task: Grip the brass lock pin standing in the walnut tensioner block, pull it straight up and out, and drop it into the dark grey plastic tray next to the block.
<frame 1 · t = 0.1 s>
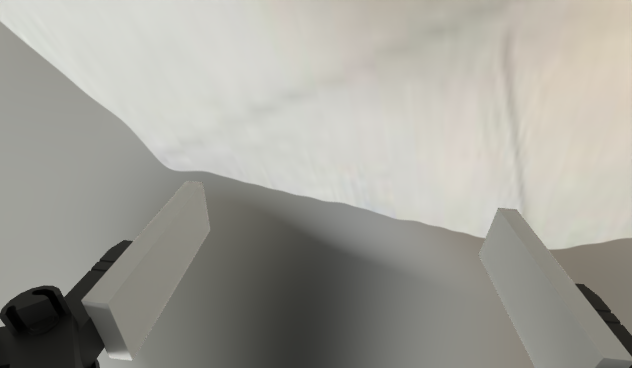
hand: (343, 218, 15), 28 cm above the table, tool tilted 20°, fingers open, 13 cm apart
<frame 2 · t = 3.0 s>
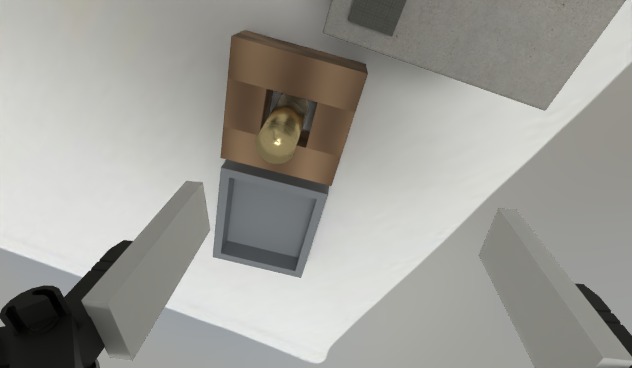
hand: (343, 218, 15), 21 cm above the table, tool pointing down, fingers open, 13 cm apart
lock pin: (293, 106, 34), resting in tensioner block
tensioner block: (293, 106, 34), on the table
tray: (271, 211, 41), on the table
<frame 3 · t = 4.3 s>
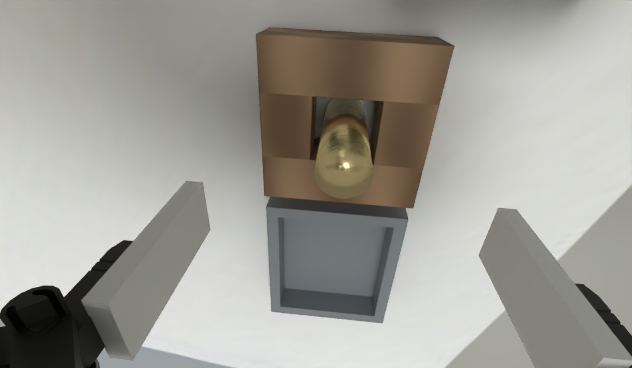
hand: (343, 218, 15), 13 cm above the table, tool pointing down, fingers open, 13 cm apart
lock pin: (345, 113, 26), resting in tensioner block
tensioner block: (345, 113, 26), on the table
tray: (332, 246, 33), on the table
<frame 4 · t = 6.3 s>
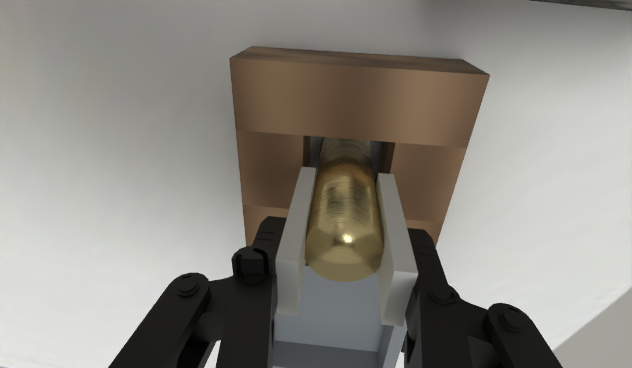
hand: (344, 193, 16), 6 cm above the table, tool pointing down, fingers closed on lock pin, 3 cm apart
lock pin: (345, 149, 21), resting in tensioner block, touching gripper
tensioner block: (345, 149, 21), on the table
tray: (330, 296, 29), on the table
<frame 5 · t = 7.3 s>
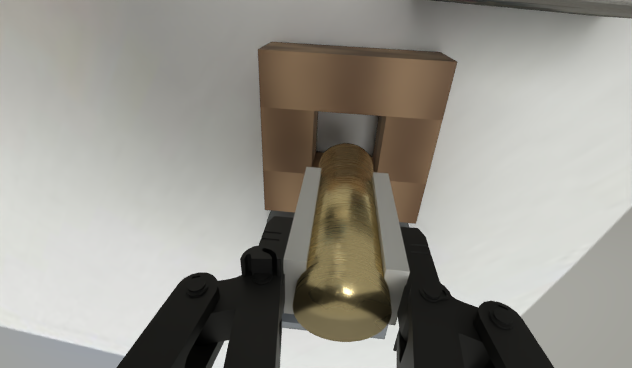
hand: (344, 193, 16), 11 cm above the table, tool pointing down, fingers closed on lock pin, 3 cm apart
lock pin: (345, 168, 19), point 8 cm above the table, touching gripper
tensioner block: (346, 127, 26), on the table
tray: (333, 260, 33), on the table
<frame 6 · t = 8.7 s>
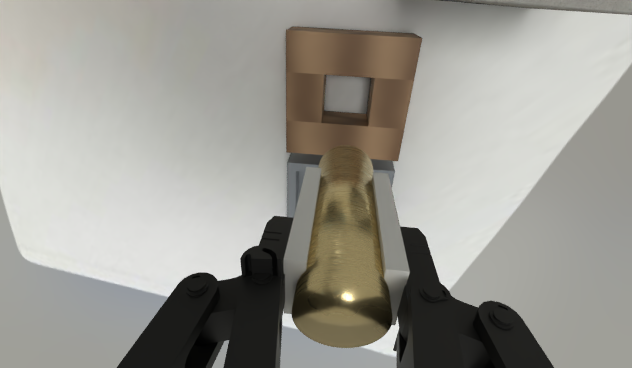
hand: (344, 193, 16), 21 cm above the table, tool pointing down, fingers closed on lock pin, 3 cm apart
lock pin: (345, 170, 19), point 18 cm above the table, touching gripper
tensioner block: (347, 91, 35), on the table
tray: (336, 201, 42), on the table
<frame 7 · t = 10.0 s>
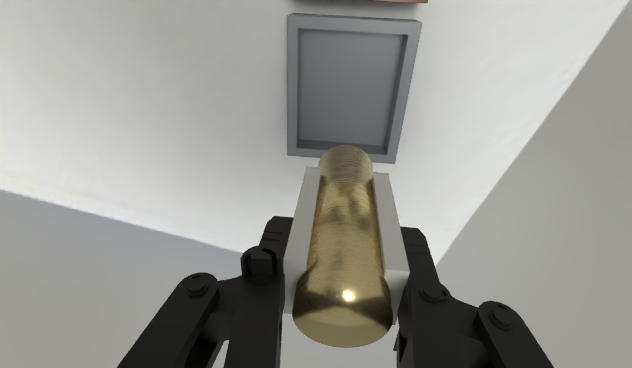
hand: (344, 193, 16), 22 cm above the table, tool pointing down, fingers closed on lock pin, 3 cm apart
lock pin: (345, 169, 19), point 19 cm above the table, touching gripper
tray: (346, 88, 35), on the table
when the fingers open (8 cm above the table, at t = 12.5 s): lock pin drops 5 cm, resting on tray.
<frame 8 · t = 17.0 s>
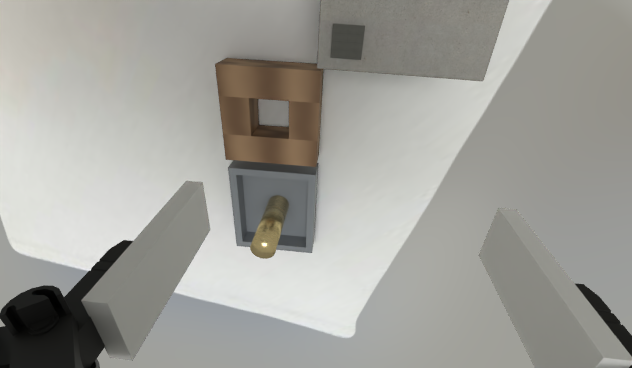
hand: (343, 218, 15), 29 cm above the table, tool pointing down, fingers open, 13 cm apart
lock pin: (278, 204, 48), point 1 cm above the table, touching tray
tensioner block: (275, 109, 42), on the table
tray: (277, 200, 49), on the table
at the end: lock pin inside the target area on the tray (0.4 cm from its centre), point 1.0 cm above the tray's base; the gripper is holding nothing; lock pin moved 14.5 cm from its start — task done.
